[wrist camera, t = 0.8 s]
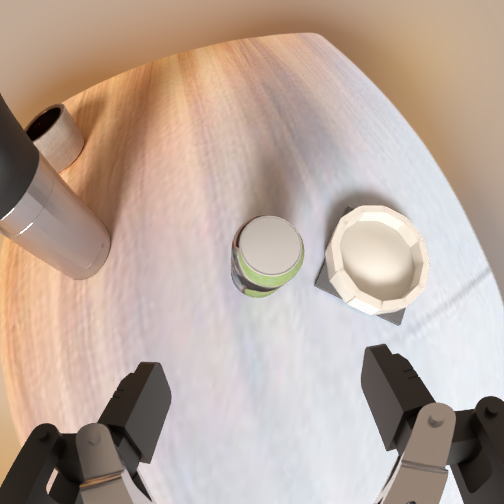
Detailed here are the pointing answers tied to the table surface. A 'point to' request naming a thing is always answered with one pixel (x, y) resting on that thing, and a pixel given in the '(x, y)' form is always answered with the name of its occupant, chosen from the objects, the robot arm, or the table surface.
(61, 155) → the planter
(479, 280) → the table surface
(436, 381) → the table surface
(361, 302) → the bowl
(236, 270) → the beverage can
